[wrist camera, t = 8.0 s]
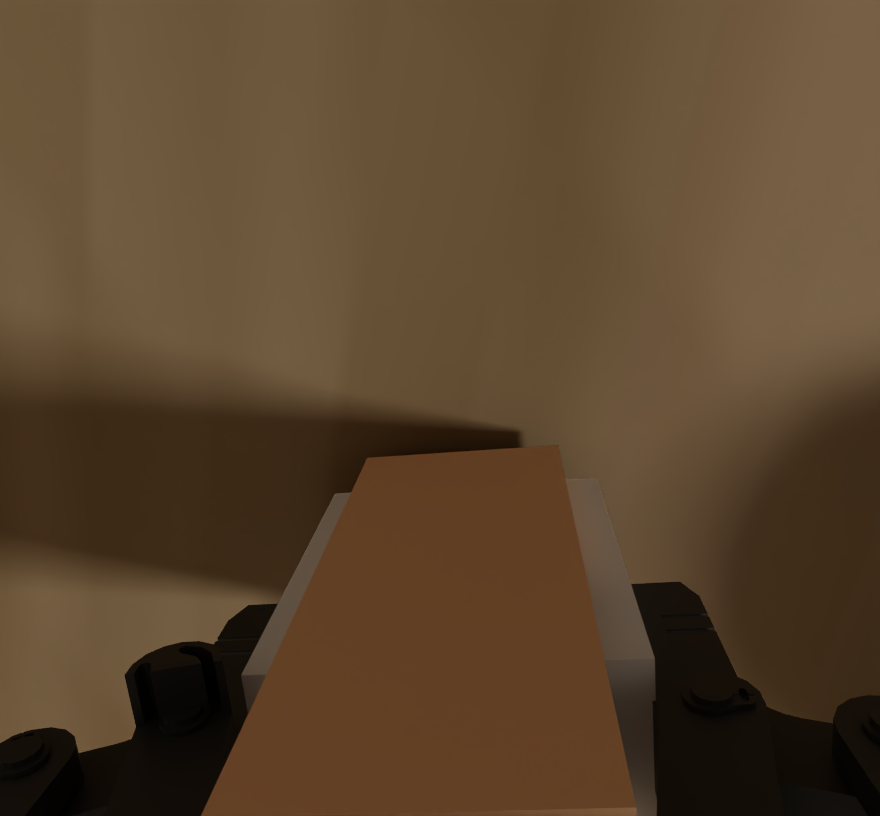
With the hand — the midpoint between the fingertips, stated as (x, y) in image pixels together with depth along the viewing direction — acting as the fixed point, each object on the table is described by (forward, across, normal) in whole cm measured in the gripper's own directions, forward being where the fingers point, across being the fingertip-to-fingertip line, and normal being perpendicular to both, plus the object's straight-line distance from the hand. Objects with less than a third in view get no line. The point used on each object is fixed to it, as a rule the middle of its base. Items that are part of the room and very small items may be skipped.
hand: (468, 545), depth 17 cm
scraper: (0, 0, -6) cm, 6 cm away
